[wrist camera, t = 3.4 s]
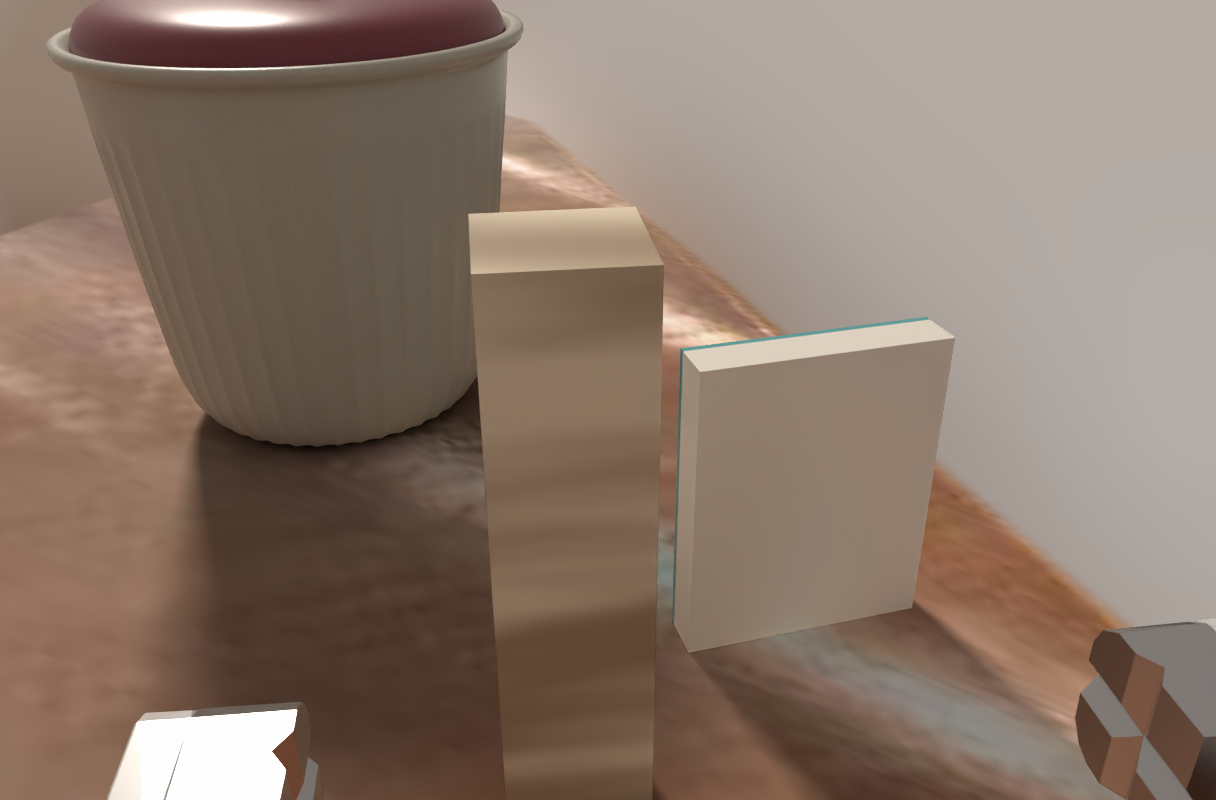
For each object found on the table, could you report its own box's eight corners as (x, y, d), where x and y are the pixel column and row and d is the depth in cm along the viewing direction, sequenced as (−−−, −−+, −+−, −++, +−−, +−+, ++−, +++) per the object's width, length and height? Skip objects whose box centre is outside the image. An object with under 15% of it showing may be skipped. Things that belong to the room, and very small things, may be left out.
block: (651, 854, 28) (663, 264, 20) (510, 869, 27) (470, 273, 20) (630, 749, 31) (635, 206, 23) (504, 761, 30) (468, 213, 23)
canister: (142, 345, 56) (40, -108, 46) (486, 298, 61) (460, -116, 51) (130, 535, 40) (-26, -80, 31) (588, 451, 46) (580, -96, 36)
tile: (911, 607, 37) (955, 337, 32) (688, 653, 35) (699, 371, 30) (888, 579, 38) (925, 317, 33) (672, 621, 36) (680, 348, 31)
